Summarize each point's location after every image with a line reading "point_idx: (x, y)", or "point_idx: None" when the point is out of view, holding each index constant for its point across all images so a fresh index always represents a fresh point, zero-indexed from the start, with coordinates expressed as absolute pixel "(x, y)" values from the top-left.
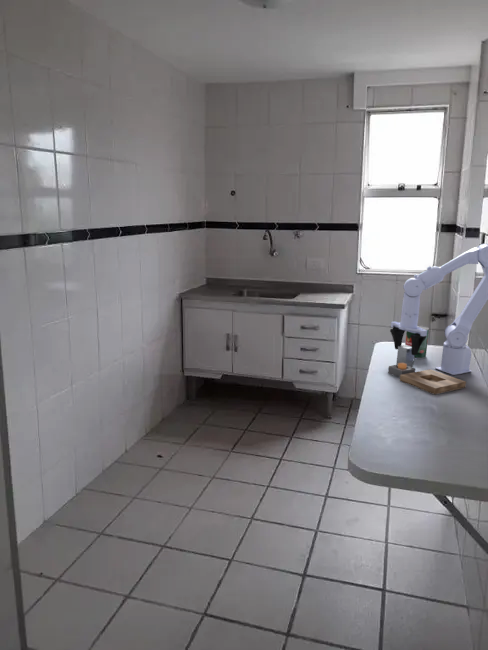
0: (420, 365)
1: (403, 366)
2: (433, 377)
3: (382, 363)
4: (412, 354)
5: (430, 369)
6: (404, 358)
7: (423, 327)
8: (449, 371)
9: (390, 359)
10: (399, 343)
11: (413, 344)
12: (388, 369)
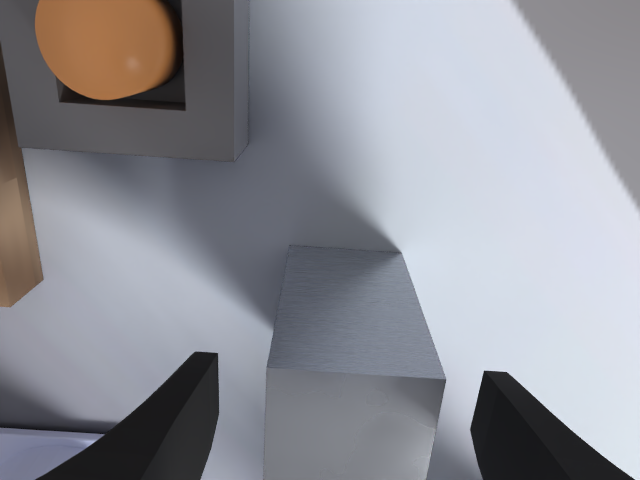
0: None
1: (49, 1)
2: None
3: (525, 182)
4: (201, 354)
5: (3, 303)
6: (302, 292)
7: None
8: (24, 452)
9: (552, 349)
10: (502, 472)
11: (117, 442)
12: None
